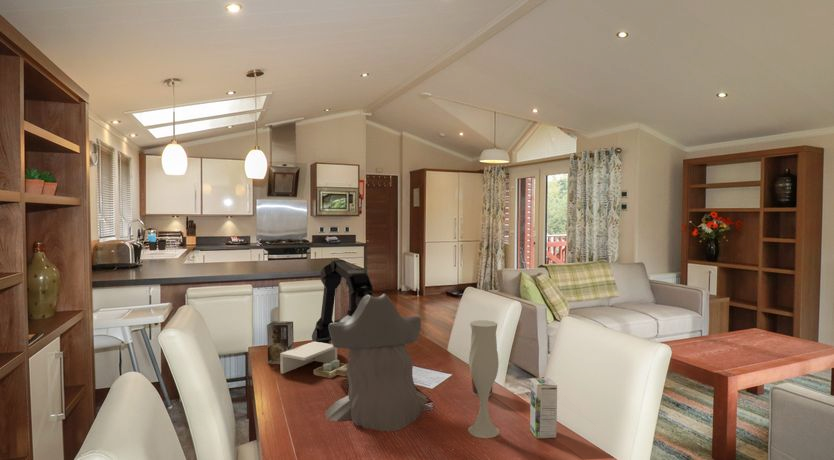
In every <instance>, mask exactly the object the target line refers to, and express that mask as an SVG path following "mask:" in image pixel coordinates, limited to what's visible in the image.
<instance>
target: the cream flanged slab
mask: <svg viewBox="0 0 834 460" xmlns="http://www.w3.org/2000/svg"><path fill="white" fill-rule="evenodd" d="M331 360H338V348H334V347H333V344H332V343H331V344H327V343H321V342H314V341H311V342H309V343H305V344H302V345H299V346H296V347H294V349H291V350H288V351H285V352H283V353H280V364H279V365H280V374H285V373H288V372H290V371H291V372H292V371H293V370H296V369H297V368H300V367H303V366H306V365H307V364H309V363H313V362H319V363H323V364H324V363H330V362H331Z"/></svg>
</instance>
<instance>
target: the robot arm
mask: <svg viewBox="0 0 834 460" xmlns="http://www.w3.org/2000/svg"><path fill="white" fill-rule="evenodd" d="M342 278H344V279H345V284H346V286H347V287H348V291H347V292H348V294H349V309H348V310H347V314H346V315H345V316H344V317H341V318H339V319H336V320H335V319H334V321H333V316H334V315H333V314H334V308H335V307H334V306H335V299H336V292H337V289H338V287H339V286H340V284H341V283H342ZM320 281H321V283H322V285H323V288H324V289H323V295H322V305H321V314H320V318H319V319H318V320H317V321H316V323H315V328H314V330H313V331H312V334H311V340H312V341H311V342H321V343H327V344H332V340H331V337H330V333H329V329H328V325H329V324H330V323H334V322H344V321H346V320H348V319H349V318H350V317H351V316H352V315H353V314H354V312H355V311H356V309H357V307H358V305H359V303H360V301H361V300H362V298H363V297H364V296H366V295H371V296H374V295H373V291H374V290H373V286H374V285H373V284H372V283H371V280H370V277H369V275H368V274H367V272H365V271H363V270H358V269H357V270H356V269H355V268H353V266H351V265H350V264H348V263H346V261H345V260H343V259H334V260H331V262H330V263H329V264H327V265H325V266H324V267H323V268H322V269H321V271H320ZM374 297H376V296H374Z"/></svg>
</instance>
